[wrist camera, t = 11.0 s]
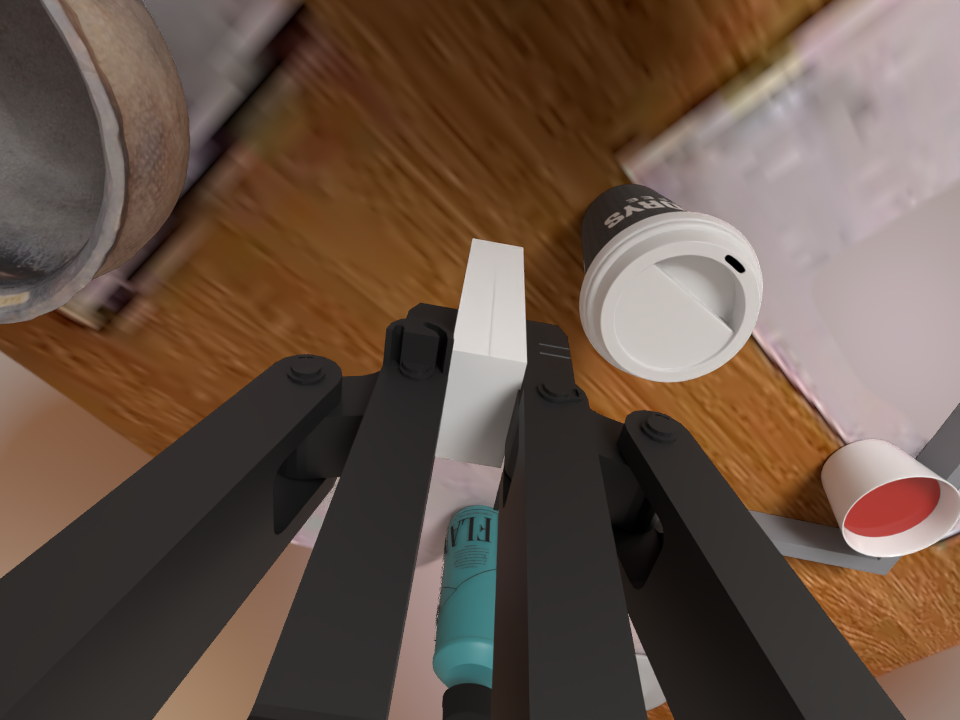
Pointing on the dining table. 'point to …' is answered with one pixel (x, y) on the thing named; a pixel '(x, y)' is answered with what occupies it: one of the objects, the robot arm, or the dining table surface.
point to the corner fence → (948, 454)
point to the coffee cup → (665, 286)
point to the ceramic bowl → (82, 145)
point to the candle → (887, 499)
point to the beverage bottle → (467, 614)
